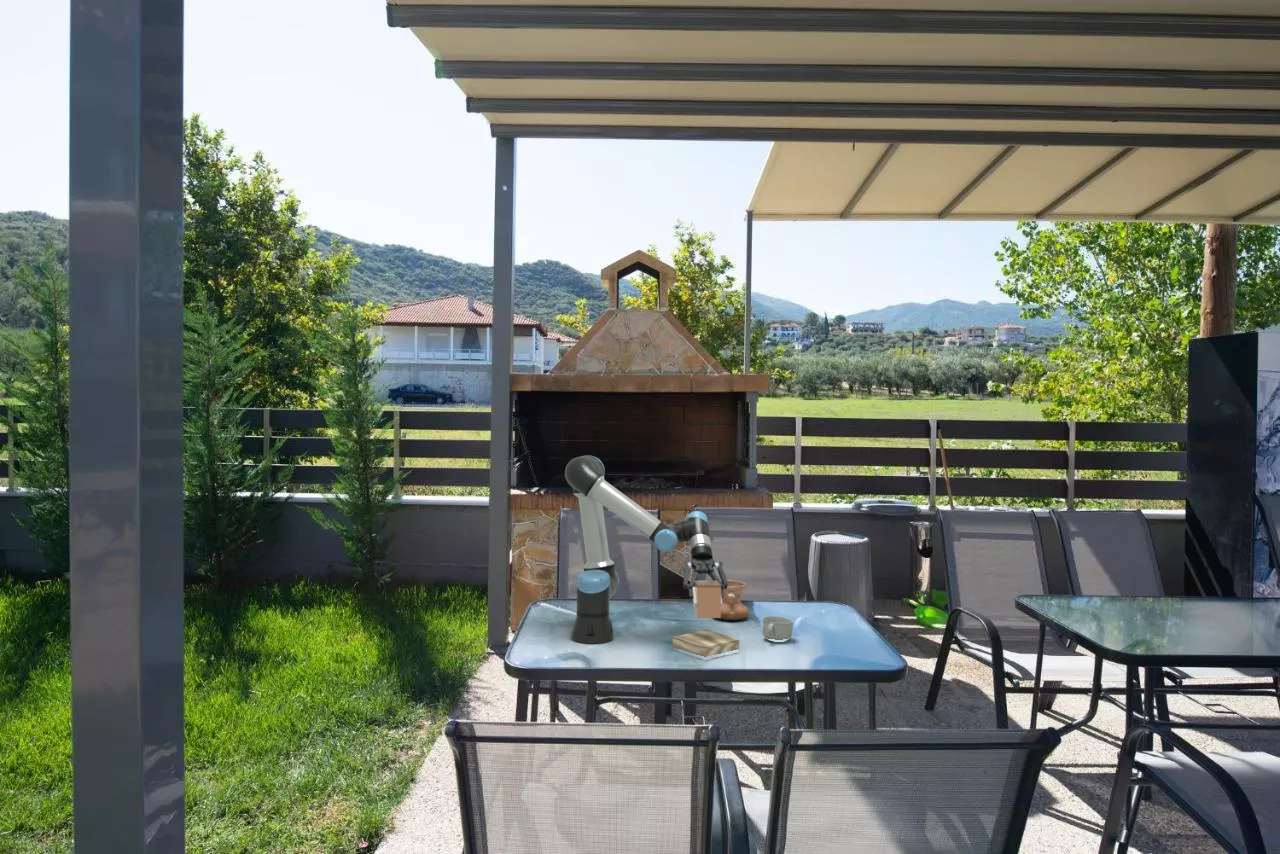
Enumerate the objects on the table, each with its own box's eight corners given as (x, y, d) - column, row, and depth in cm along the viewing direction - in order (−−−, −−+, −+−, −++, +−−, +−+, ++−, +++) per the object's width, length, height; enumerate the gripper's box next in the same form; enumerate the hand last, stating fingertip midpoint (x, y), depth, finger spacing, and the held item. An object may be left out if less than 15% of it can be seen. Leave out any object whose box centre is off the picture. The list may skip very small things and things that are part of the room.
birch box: (705, 662, 287) (705, 647, 287) (672, 651, 299) (672, 636, 299) (739, 654, 297) (739, 639, 297) (706, 643, 309) (706, 629, 309)
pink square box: (697, 618, 294) (697, 585, 293) (693, 612, 301) (693, 580, 301) (720, 617, 294) (721, 585, 294) (716, 612, 302) (716, 580, 302)
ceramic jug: (749, 624, 337) (750, 587, 336) (711, 623, 337) (712, 586, 337) (746, 613, 354) (747, 578, 354) (711, 612, 355) (711, 577, 355)
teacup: (772, 635, 321) (772, 613, 321) (798, 640, 314) (799, 618, 314) (752, 642, 310) (752, 620, 310) (778, 648, 303) (779, 625, 303)
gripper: (728, 556, 315) (736, 611, 300) (670, 556, 313) (676, 611, 298) (731, 544, 310) (740, 599, 294) (673, 543, 308) (678, 599, 292)
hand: (707, 605), depth 296 cm, fingers closed on pink square box, 8 cm apart
